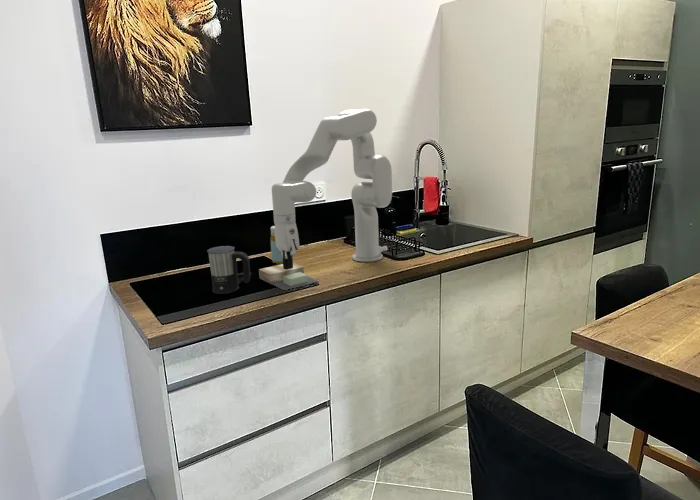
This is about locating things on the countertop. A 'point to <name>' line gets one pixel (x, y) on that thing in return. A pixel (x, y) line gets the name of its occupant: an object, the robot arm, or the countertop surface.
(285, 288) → the rubber mat
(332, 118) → the robot arm
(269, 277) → the birch board
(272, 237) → the bottle
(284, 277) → the green block
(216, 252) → the milk frother
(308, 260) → the countertop surface
